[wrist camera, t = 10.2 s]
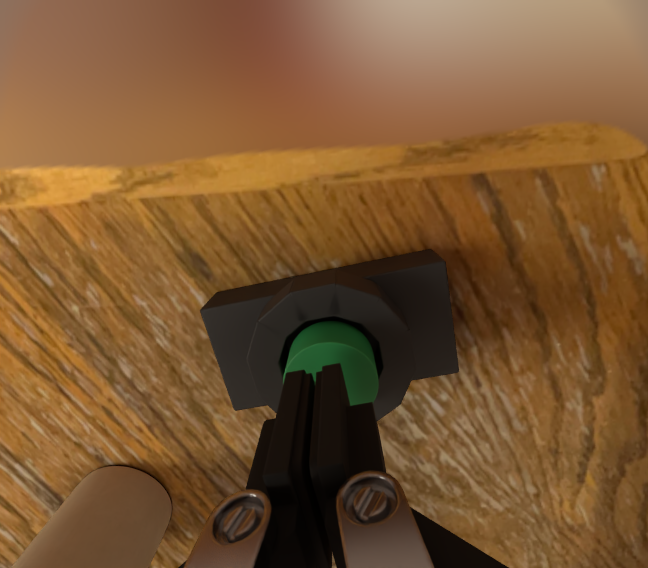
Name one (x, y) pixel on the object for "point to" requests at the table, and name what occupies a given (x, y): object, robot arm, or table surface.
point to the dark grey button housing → (344, 306)
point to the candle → (104, 524)
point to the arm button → (337, 357)
